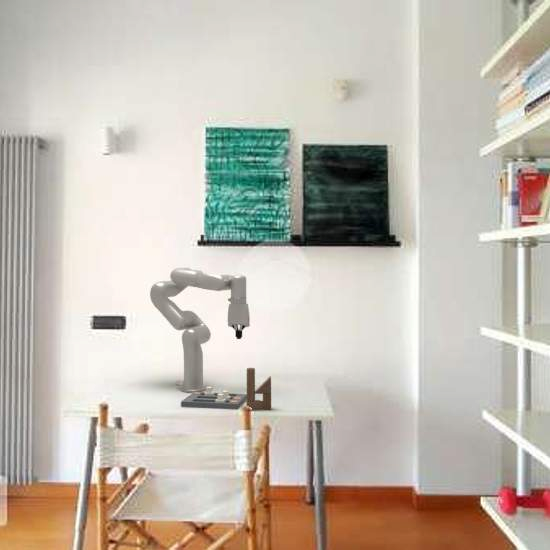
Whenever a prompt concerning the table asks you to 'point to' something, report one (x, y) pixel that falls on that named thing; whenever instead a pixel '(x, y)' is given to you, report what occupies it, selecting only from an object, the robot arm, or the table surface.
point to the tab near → (220, 398)
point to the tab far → (209, 391)
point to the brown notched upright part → (258, 392)
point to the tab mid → (226, 394)
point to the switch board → (213, 401)
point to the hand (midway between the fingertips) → (238, 338)
